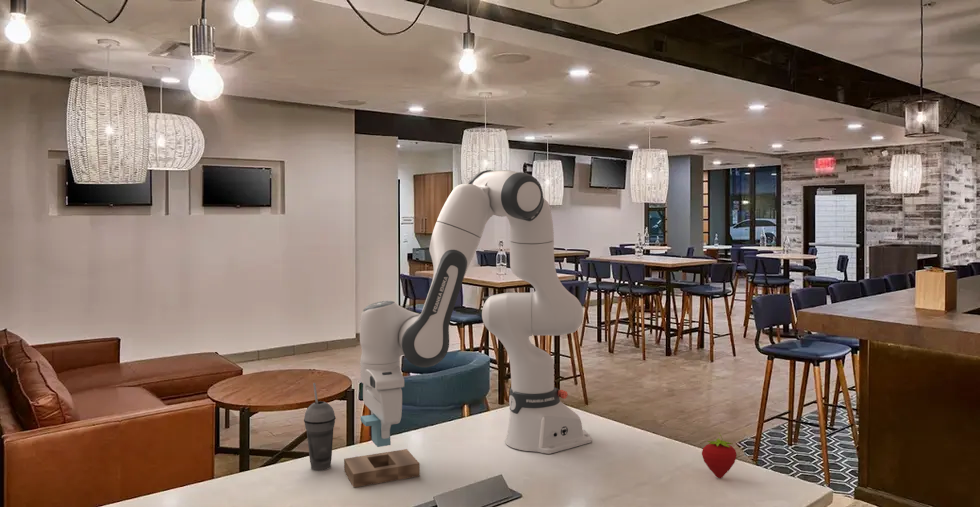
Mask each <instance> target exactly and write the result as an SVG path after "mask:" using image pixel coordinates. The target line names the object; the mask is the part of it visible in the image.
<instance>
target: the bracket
mask: <svg viewBox="0 0 980 507" xmlns="http://www.w3.org/2000/svg"><path fill="white" fill-rule="evenodd" d="M360 422H361V423H362V424H363V425H364V426H365V427H371V442H373V444H374V445H375V446H376V447H377V448H381V447H387V446H392V445H391V443H392V442H391V436H390V437H389V438H386V439H383V438H382V437H381V436H380V429H381V420H380V419H379V418H378V417H377V416H376V415H375V414H374V415H371V414H367V415H361V416H360Z"/></svg>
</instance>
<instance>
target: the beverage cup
mask: <svg viewBox="0 0 980 507" xmlns="http://www.w3.org/2000/svg"><path fill="white" fill-rule="evenodd" d="M313 392H314V399H315V400H314V401H315V402H312V403H311V404H310V405H309V406H308V407H307V409H306V411H305V412H304V413H305V414H304V419H303V422H304V426H305V427H304V428H305V430H306V437H307V446H308V455H309V463H310V468H311V470H312V471H315V472H319V471H320V472H321V471H322V472H323V471H327V470H329V469H330V468H331V466H332V464H331V463H332V455H333V443H334V442H333V441H334V440H333V439H334V427H335V423H336V415H335V411H334V408H333V407H332V405H330V404H329V403H328V402H325V401H323V400H322V401H321V400H318V392H317V384H316V382H313Z"/></svg>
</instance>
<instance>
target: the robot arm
mask: <svg viewBox="0 0 980 507" xmlns="http://www.w3.org/2000/svg"><path fill="white" fill-rule="evenodd" d="M551 210H552V209H551V206H550V204H549V202H548V200H546V199H545V198H544V191H543V188H542V186H541V183H540V182H539V180H538V179H537V178H535V176H533V175H531V174H529V173H526V172H523V171H522V172H519V171H515V170H510V169H509V170H508V169H502V170H491V169H490V170H489V169H488V170H482V171H480V172H478V173H476V174H475V175H473V176H472V177H471V178H470V180H469V181H468V183H461V184H458V185H456V186H454V188H453V189H452V191H451V193H450V194H449V195H448V197H447V198H446V200H445V202H444V203H443V206H442V208H441V209H440V212H439V214H438V217H437V220H436V222H435V224H434V227H433V230H432V234H431V238H430V243H429V249H428V250H429V254H430V258H431V262H432V265H433V266H432V268H433V274H432V275H433V276H432V280H431V284H430V287H429V290H428V293H427V296H426V299H425V301H424V304H423V307H422V310H421V312H420V313H418V312H414V311H412V310H409V309H406V308H405V307H403V306H400V305H399V304H398V303H397V302H395V301H392V300H385V301H384V300H383V301H377V302H373V303H371V304H369V305H367V306H366V307H364V309H363V310H362V312H361V314H360V315H361V316H360V322H359V344H360V348H361V355H360V359H359V365H360V368H359V369H360V372H359V373H360V383H362V384H363V385H362V386H363V387H362V399H363V405H365V407H367V408H368V410H370V415H374V414H375V415H376V416H377V417H378V418H379V419H380V420H381V429H380V436H381V437H382V438H383V439H386V438H389V437H390V438H391V427H392V425H397V424H400V422H401V419H402V415H403V414H402V413H403V412H402V410H403V390H402V388H405V378H404V376H403V374H402V372H401V363H400V362H401V360H400V359H401V358H400V357H401V356H404V358H406V360H407V361H408V362H409V363H411V364H412V365H413V366H415V367H419V368H430V367H434V366H435V365H438V364H439V363H440V362H442V361H443V359H444V358H445V357H446V355H447V353H448V352H449V348H450V329H449V328H450V322H451V318H452V315H453V312H454V310H455V305H456V302H457V300H458V297H459V293H460V291H461V287H462V284H463V281H464V278H465V275H466V273H467V271H468V269H469V267H470V265H471V262H472V261H473V258H474V256H475V254H476V252H477V249H478V246H479V244H480V242H481V239H482V237H483V233H484V230H485V227H486V224H487V223H488V221H489V220H490V219H491V217H493V216H496V217H501V218H502V217H503V218H504V217H506V218H507V220H508V223H509V268H510V270H511V272H512V274H513V275H514V276H516V277H517V278H519V279H520V280H522V281H524V282H526V283H528V284H530V285H531V286H532V287H533V289H534V290H535V291H533V292H504V293H497V294H493V295H490V296H489V297H488V298H487V299H486V300H485V302H484V304H483V306H482V309H481V310H482V311H481V319H482V322H483V324H484V327H485V328H486V329H487V331H488V332H490V333H491V334H492V335H493V336H495V337H496V338H497V339H498V341H500V342H501V344H502V345H503V347H504V349H505V351H506V353H507V357H508V359H509V367H510V384H511V385H510V388H509V396H508V397H509V399H508V400H509V401H508V402H509V411H510V413H509V422H508V429H507V433H506V436H505V440H504V442H505V444H506V445H507V446H508V447H510V448H512V449H515V450H518V451H525V452H534V453H535V452H536V453H542V454H549V455H550V454H553V453H557V452H561V451H562V452H563V451H565V450H569V449H572V448H575V447H579V446H583V445H586V444H590V443H592V436H591V435H590V433H588V432H587V431H586V430H584V429H583V423H582V419H581V418H580V416H579V415H578V413H576V412H575V411H574V410H572V409H571V408H570V407H568V405H566V404H564V403H563V402H562V401H561V399H564V400H565V399H566V398H567V397H568V396H569V395H568V394H569V393H568V392H567V391H566V390H564V389H559V388H557V387H555V362H554V359H553V357H552V356H551V354H550V353H548V352H547V351H546V350H544V349H542V348H539V347H537V346H536V345H534V344H533V343H532V342H531V340H530V337H532V336H556V337H557V336H562V335H563V336H564V335H570V334H573V333H576V331H578V329H579V328H580V327H581V325H582V323H583V318H584V309H583V306H582V303H581V302H580V300H579V299H578V298H577V297H576V296H575V295H574V294H572V293H571V292H570V291H569V290H567V288H566V287H565V286H564V285H563V284H562V282H561V280H560V278H559V276H558V273H557V270H556V265H555V246H554V245H555V242H554V237H555V236H554V235H555V234H554V233H555V232H554V222H553V216H552V211H551ZM560 398H561V399H560Z"/></svg>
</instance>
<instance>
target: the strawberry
mask: <svg viewBox="0 0 980 507" xmlns="http://www.w3.org/2000/svg"><path fill="white" fill-rule="evenodd" d="M718 434H719V436H720V437H721V439H720V438H719V437H718V438H716V441H714V440H712V441H711V440H710V441H709V440H708V441H707V443H708V444H706V445H705V446H704V447H703V448H702V450H701V455H702V459H703V462H704V463H705V465H706V466H707V468H708V469H709V471H711V472H712V473H713V475H714V476H715V477H716V478H717V479H722V478H723V477H724V476H725V475H726V474H727V473H728V472H729V471H730V469H731V468H732V467H734V466H733V465H735V463H736V461H737V460H736V459H737V456H738V455H737V451H736V449H735V448H734V446H731V445H733V442H729V441H725V440H723V437H722V435H721V433H720V432H718Z"/></svg>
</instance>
